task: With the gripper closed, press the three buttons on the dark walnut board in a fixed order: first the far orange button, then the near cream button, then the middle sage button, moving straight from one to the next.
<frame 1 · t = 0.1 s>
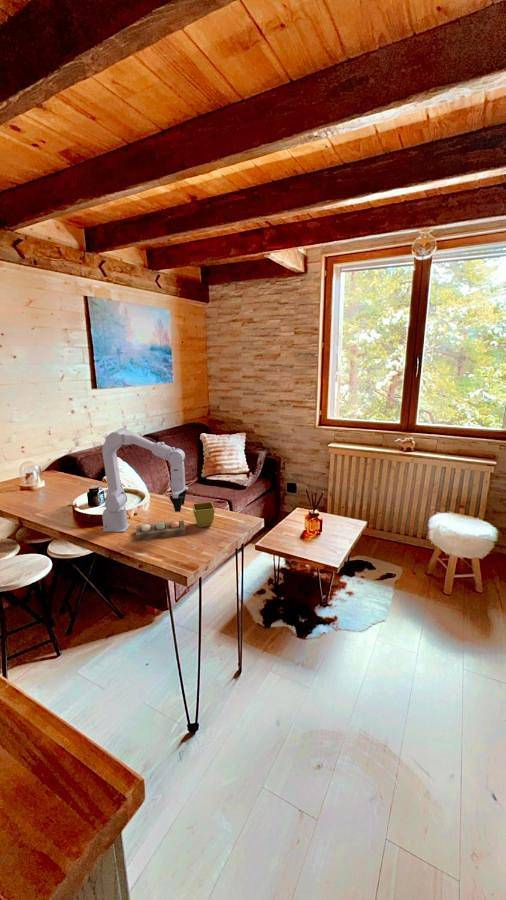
hand: (179, 508, 162), 10 cm above the table, tool pointing down, fingers open, 7 cm apart
button board: (160, 533, 161), on the table
orange button: (174, 525, 162), point 3 cm above the table, slide at 0.0 cm
cream button: (145, 528, 159), point 3 cm above the table, slide at 0.0 cm
flower pot: (204, 525, 169), on the table
sage button: (160, 527, 161), point 3 cm above the table, slide at 0.0 cm
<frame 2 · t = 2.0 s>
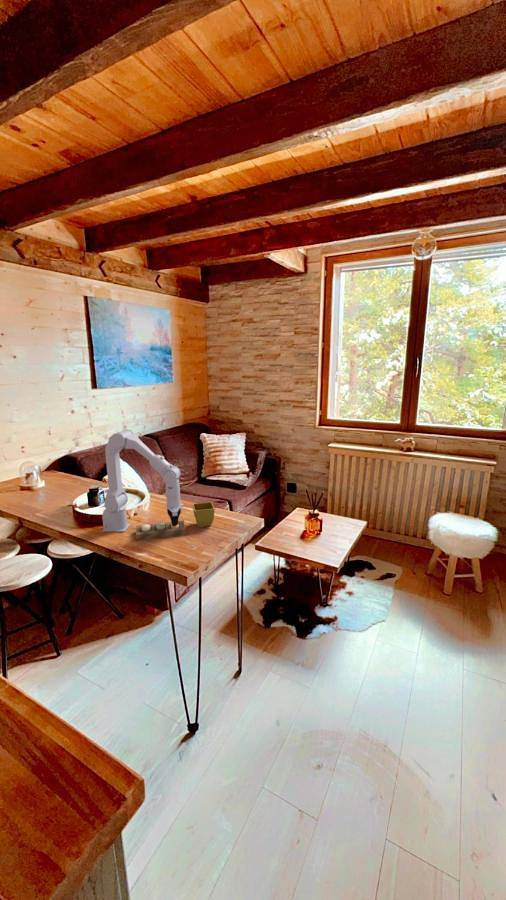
hand: (174, 525, 162), 3 cm above the table, tool pointing down, fingers closed, pressing on orange button
orange button: (175, 527, 162), point 2 cm above the table, slide at 1.1 cm, touching gripper
everything else where it was.
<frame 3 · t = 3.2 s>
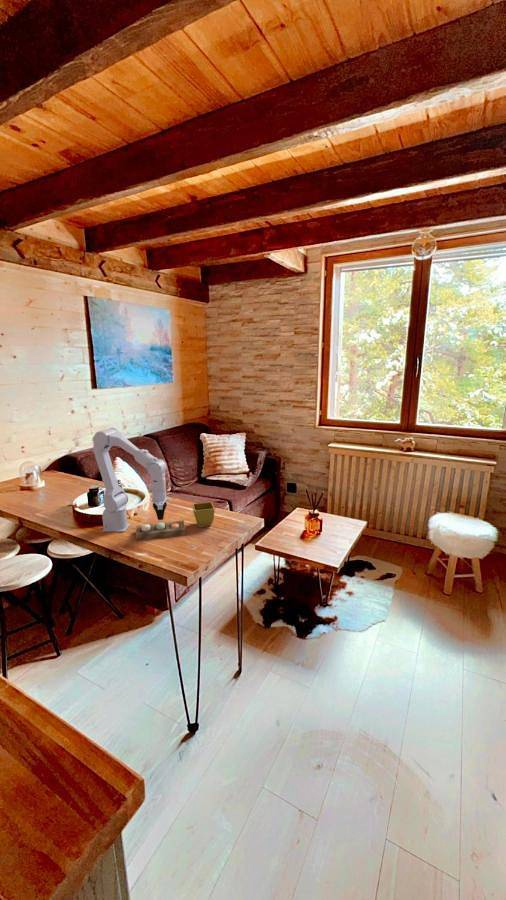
hand: (160, 519, 160), 6 cm above the table, tool pointing down, fingers closed
orange button: (175, 527, 162), point 2 cm above the table, slide at 1.1 cm
everything else where it was.
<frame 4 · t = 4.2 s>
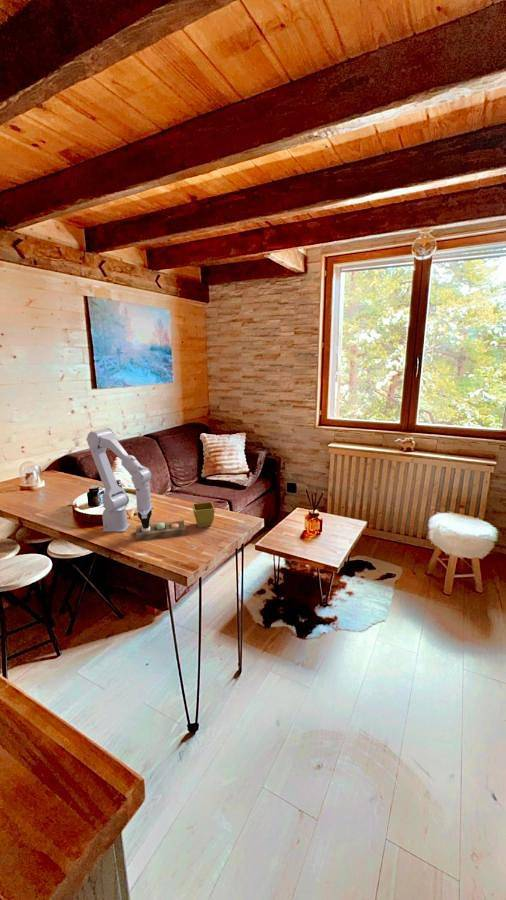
hand: (145, 527, 159), 3 cm above the table, tool pointing down, fingers closed, pressing on cream button
cream button: (146, 530, 159), point 2 cm above the table, slide at 0.8 cm, touching gripper
everything else where it was.
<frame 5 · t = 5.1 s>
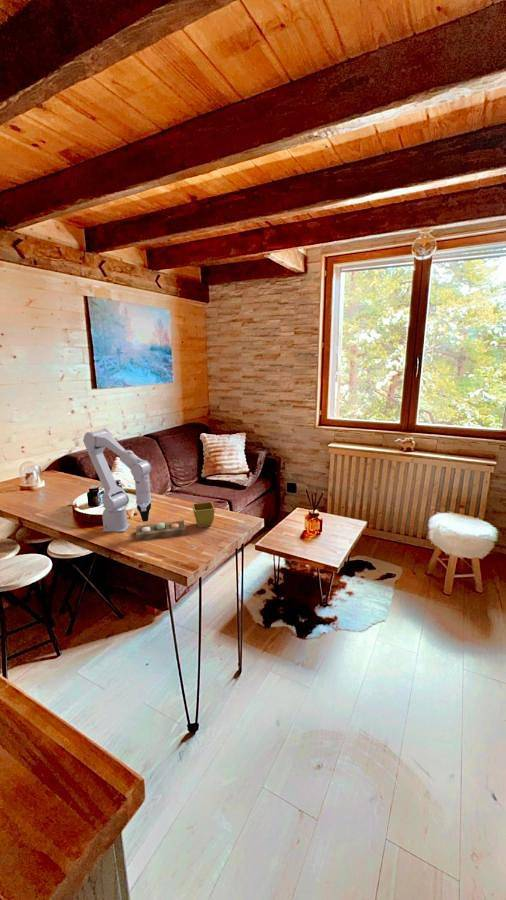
hand: (145, 520, 158), 6 cm above the table, tool pointing down, fingers closed
cream button: (146, 531, 159), point 2 cm above the table, slide at 1.1 cm
everything else where it was.
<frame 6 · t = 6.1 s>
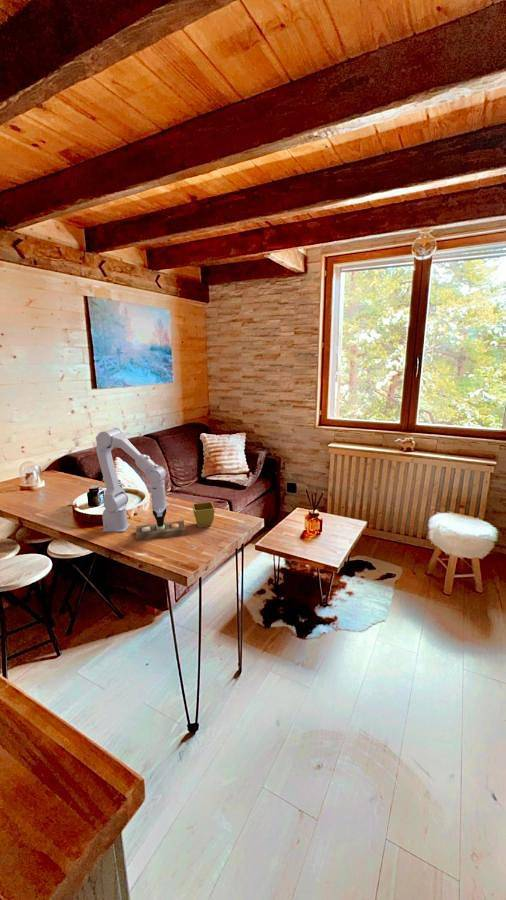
hand: (160, 525, 160), 3 cm above the table, tool pointing down, fingers closed, pressing on sage button
sage button: (160, 528, 161), point 2 cm above the table, slide at 0.7 cm, touching gripper
everything else where it was.
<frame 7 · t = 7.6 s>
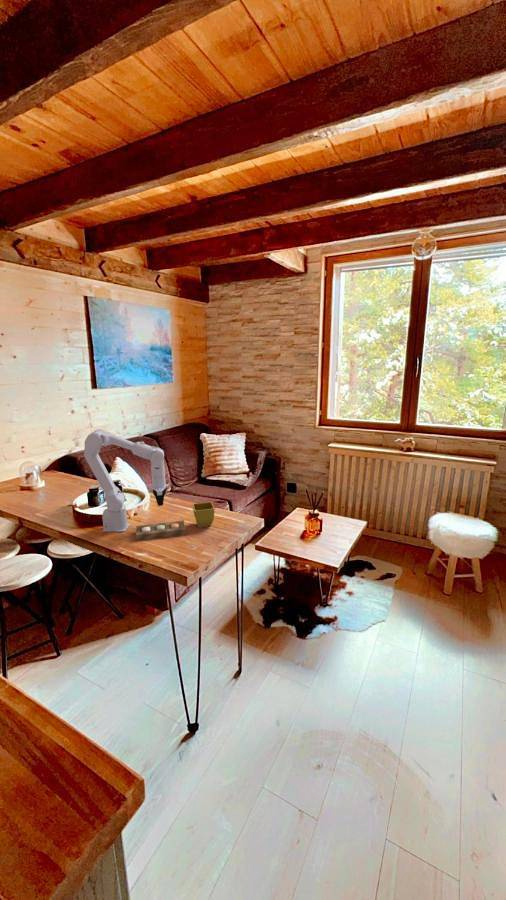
hand: (160, 505, 167), 9 cm above the table, tool pointing down, fingers closed
sage button: (160, 529, 161), point 2 cm above the table, slide at 1.1 cm
everything else where it was.
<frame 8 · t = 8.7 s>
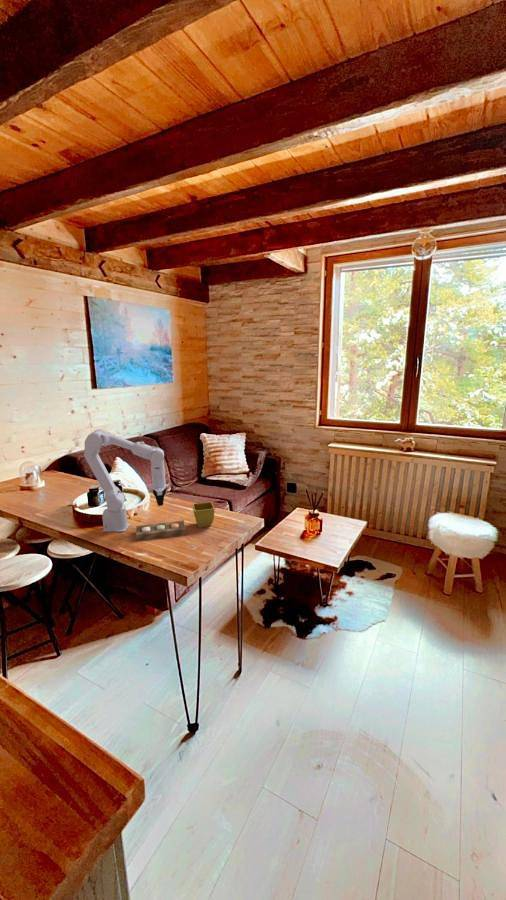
hand: (160, 505, 167), 9 cm above the table, tool pointing down, fingers closed
nothing on the table moved.
at the end: orange button slide at 1.1 cm; cream button slide at 1.1 cm; sage button slide at 1.1 cm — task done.
